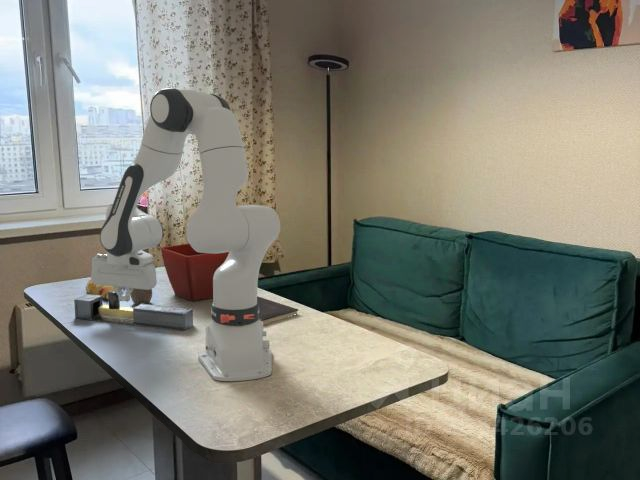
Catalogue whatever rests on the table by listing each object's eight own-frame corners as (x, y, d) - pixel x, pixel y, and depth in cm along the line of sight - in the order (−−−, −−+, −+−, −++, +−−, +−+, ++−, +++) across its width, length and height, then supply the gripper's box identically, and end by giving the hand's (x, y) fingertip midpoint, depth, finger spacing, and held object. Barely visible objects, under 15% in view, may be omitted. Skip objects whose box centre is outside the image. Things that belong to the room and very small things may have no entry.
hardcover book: (251, 300, 200) (251, 294, 200) (298, 316, 185) (298, 309, 185) (214, 310, 189) (214, 303, 189) (260, 327, 174) (260, 320, 173)
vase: (146, 307, 188) (145, 281, 187) (126, 305, 190) (125, 279, 188) (156, 301, 195) (155, 276, 193) (137, 299, 196) (136, 274, 195)
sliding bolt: (169, 320, 173) (168, 296, 172) (164, 323, 170) (163, 299, 169) (104, 312, 178) (103, 289, 177) (98, 315, 175) (97, 292, 174)
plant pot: (160, 293, 205) (159, 246, 201) (207, 284, 217) (207, 240, 214) (188, 306, 191) (187, 256, 188) (236, 296, 203) (236, 249, 200)
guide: (193, 324, 173) (193, 305, 172) (184, 331, 167) (184, 311, 166) (87, 312, 182) (86, 294, 180) (75, 318, 176) (74, 299, 175)
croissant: (121, 309, 196) (132, 288, 197) (94, 301, 190) (105, 278, 191) (99, 294, 212) (108, 274, 213) (73, 285, 205) (83, 265, 206)
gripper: (85, 255, 171) (87, 300, 174) (147, 261, 166) (148, 307, 169) (98, 251, 177) (100, 294, 180) (158, 256, 172) (159, 301, 175)
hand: (124, 300), depth 174 cm, fingers closed
